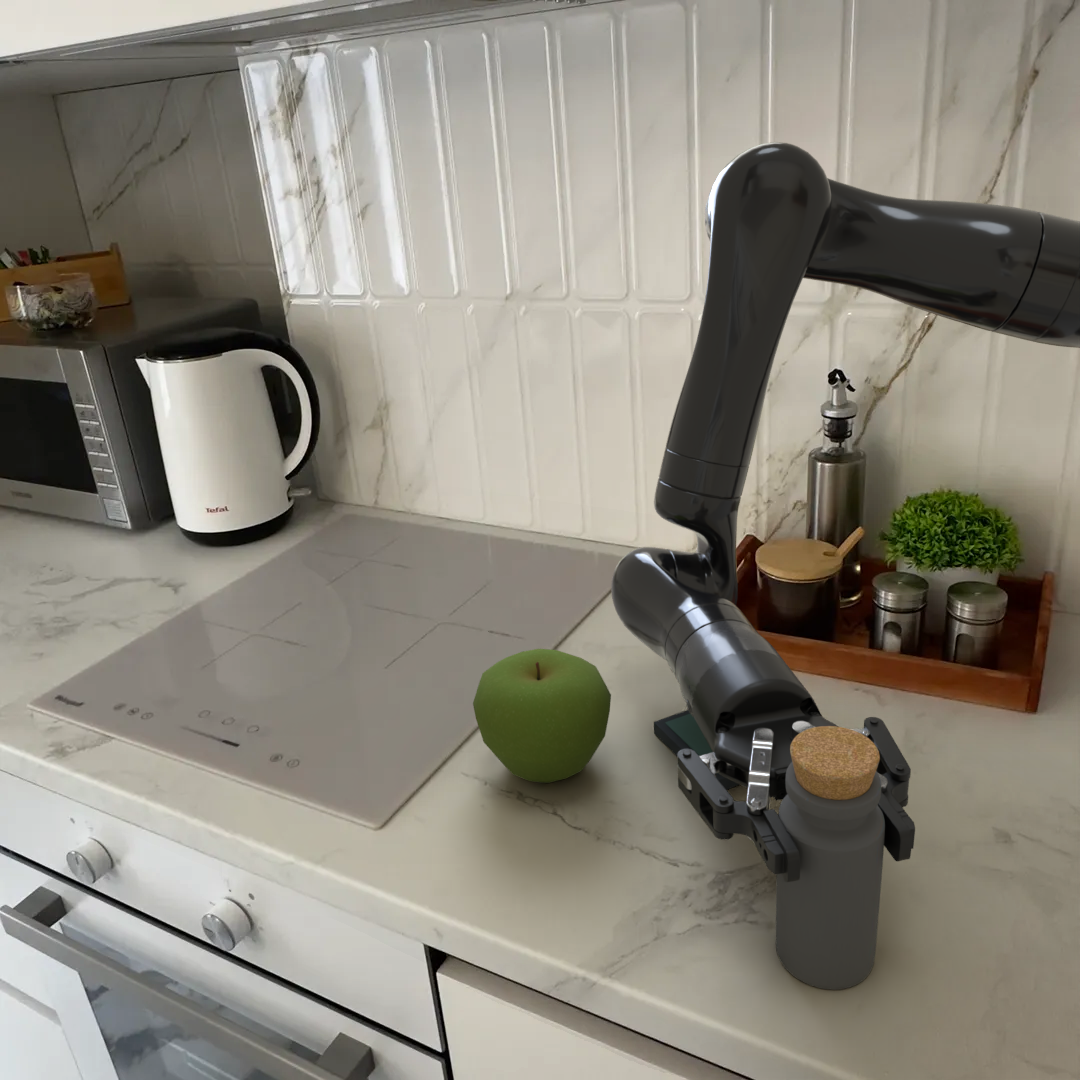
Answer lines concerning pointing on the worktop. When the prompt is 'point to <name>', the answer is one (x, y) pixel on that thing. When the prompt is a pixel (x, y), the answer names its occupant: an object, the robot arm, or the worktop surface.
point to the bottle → (831, 858)
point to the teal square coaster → (686, 738)
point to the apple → (542, 713)
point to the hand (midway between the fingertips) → (850, 858)
